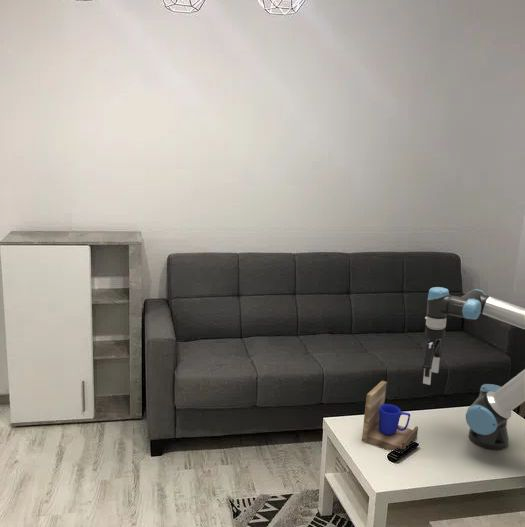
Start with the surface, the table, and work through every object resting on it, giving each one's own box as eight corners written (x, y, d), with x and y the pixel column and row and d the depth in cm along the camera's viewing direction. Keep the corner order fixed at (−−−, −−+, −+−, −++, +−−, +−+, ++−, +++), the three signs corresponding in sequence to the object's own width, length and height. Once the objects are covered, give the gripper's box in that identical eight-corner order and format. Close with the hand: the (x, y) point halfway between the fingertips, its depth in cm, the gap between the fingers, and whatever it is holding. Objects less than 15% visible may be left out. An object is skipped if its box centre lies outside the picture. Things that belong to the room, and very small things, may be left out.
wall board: (381, 426, 253) (386, 382, 249) (366, 442, 240) (371, 395, 235) (376, 425, 254) (382, 380, 250) (361, 441, 241) (366, 394, 236)
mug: (407, 440, 238) (410, 416, 236) (376, 434, 240) (378, 411, 238) (407, 430, 246) (410, 407, 243) (377, 425, 248) (379, 402, 246)
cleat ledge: (416, 438, 246) (418, 427, 245) (403, 455, 233) (404, 443, 231) (381, 426, 253) (382, 415, 252) (366, 442, 240) (367, 431, 239)
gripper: (433, 317, 251) (428, 365, 256) (417, 334, 230) (413, 386, 234) (451, 320, 248) (447, 369, 252) (437, 337, 226) (432, 391, 231)
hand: (430, 378), depth 243 cm, fingers open, 13 cm apart
